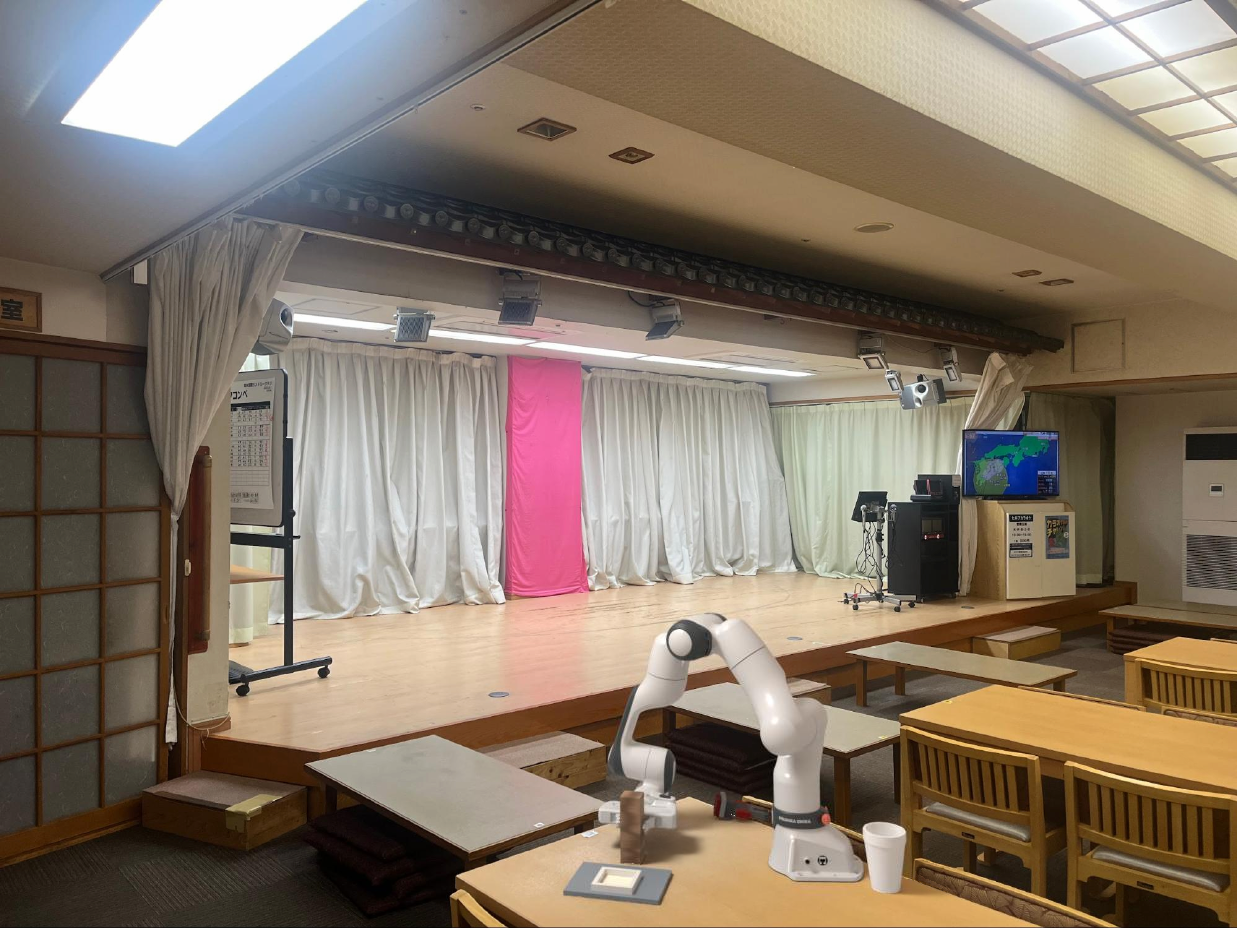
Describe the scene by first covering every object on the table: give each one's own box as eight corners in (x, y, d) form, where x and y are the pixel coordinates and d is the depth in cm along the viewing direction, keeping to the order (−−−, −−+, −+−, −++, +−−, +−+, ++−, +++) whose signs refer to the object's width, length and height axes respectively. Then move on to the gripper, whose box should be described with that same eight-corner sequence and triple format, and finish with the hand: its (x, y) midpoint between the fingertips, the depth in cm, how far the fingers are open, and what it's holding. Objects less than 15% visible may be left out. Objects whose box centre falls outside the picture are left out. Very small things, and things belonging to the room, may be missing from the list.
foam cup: (864, 894, 193) (862, 835, 193) (863, 876, 201) (862, 820, 202) (908, 898, 190) (907, 839, 191) (906, 880, 199) (904, 824, 200)
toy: (763, 821, 244) (712, 810, 245) (767, 799, 244) (716, 788, 245) (767, 833, 235) (714, 822, 236) (771, 810, 236) (718, 799, 236)
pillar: (644, 856, 214) (644, 791, 215) (640, 864, 209) (639, 798, 210) (625, 854, 215) (624, 790, 216) (620, 862, 211) (619, 797, 211)
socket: (641, 876, 200) (641, 870, 200) (632, 894, 191) (631, 888, 191) (602, 872, 203) (602, 866, 203) (591, 890, 193) (591, 883, 194)
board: (671, 874, 204) (671, 869, 204) (658, 904, 188) (658, 900, 188) (583, 865, 209) (583, 861, 209) (563, 894, 194) (563, 890, 194)
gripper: (605, 791, 228) (591, 810, 215) (681, 797, 223) (671, 816, 210) (605, 815, 228) (591, 835, 214) (681, 822, 223) (671, 842, 209)
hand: (631, 826), depth 212 cm, fingers closed on pillar, 5 cm apart
